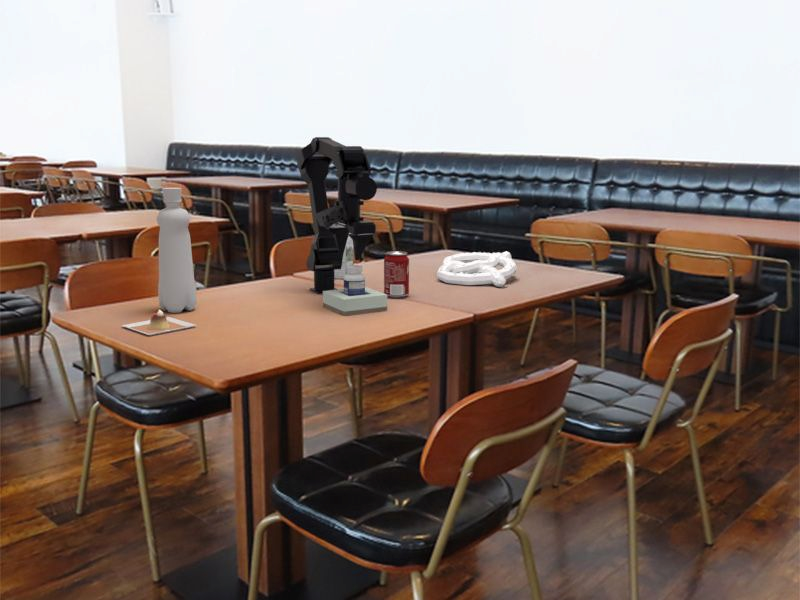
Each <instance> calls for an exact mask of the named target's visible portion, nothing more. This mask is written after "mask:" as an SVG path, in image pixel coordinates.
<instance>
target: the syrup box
mask: <svg viewBox="0 0 800 600" xmlns="http://www.w3.org/2000/svg"><path fill="white" fill-rule="evenodd" d="M349 234H351V233H349ZM354 257H355V256H354V248H353V240H352V239H351V237H350V236H349V235H348V239H347V243H346V247H345V250H344V253H343V260H342V267H341V269H335V270H334V280H335V279H336V280H344V276H345V275H346V274H347V272H346V267H347V266H350V265H354Z"/></svg>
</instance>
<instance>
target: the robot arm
mask: <svg viewBox="0 0 800 600" xmlns="http://www.w3.org/2000/svg"><path fill="white" fill-rule="evenodd" d="M296 159H297V160H296V165H297V168H298V169H299V175H300V178H302V179H303V181H304V182H305V184H306V185H307V189H308V194H309V203H310V207H311V208H310V210H311V217H312V222H313V229H314V237H313V239H312V241H311V244H310V251H309V255H308V256H307V260H306V262H305V263H306V269H307V270H309V271H311V272H313V287H309V291H311V292H314V293H316V294H323V291H329V290H338V288H336V287H335V278H334V270H335V269H341V267H342V260H343V253H344V250H345V247H346V243H347V239H348V235H349V236H350V237H351V239H352V240H353V248H354V256H353V257H354V260H355V261H360V260H361V258H362V256H363V254H364V251H365V249H366V248H367V245H368V244H369V242H370V240H371V238H372V237H374V234H377V225H376V223H375V222H374V221H370V220H367V219H366V220H365V219H364V216H361V207H362V206H364V205H365V204H364V203H365V201H370V200H372V199H373V198H374V197H375V196H376V194H377V191H378V186H377V183H376V181H375V180H374V179H373V178H372V177H370V176H371V174H372V172H371V168H372V167H371V165H370V162H369V159H368V157H367V154H366V151H365V150H364V148H363V147H362V146H360V145H344V144H342V143H340V142H337V141H335V140H333V139H332V138H331V137H328V136H322V137H321V136H316V137H313V138H312V140H310V143H308V144H307V145H306V146H303V148H301V150H300V152H299V154H298V156H297V158H296ZM331 164H333V166H334V167H335V168H336V170H337V172H336V174H335V177H336V178H337V199H335V200H334V202H333V206H331V207H329V202H328V197H327V196H328V194H327V187H326V180H327V177H328V175H329V173H330V166H331ZM349 233H351V234H349Z"/></svg>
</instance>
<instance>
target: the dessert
mask: <svg viewBox="0 0 800 600" xmlns="http://www.w3.org/2000/svg"><path fill="white" fill-rule="evenodd" d="M169 322H170V323H173V324H177V325H180V326H183V327H178V328H172V329H169V328H170V324H169ZM144 325H149V326H148V330H151V331H152V330H153V331H157V332H152V333H151V332H150V333H147V332H146V331H145V332H144V331H141V330H138V329H136V328H134V327H139V326H144ZM121 326H122V327H123V328H125V329H128V330H131V331H134V332H137V333H140V334H143V335H146V336H149V337H151V336H155V335H156V336H157V335H160V334H162V335H163V334H166V333H171V332H177V331H181V330H187V329H191V328H194V327H196V326H197V324H195V323H191V322H187V321H184V320H181V319H178V318H174V317H171V316H166V315H165V314H164V312H163V310H162V309H158V311H157V312H153V313H152V315H151V318H150V319H148V320H144V321H143V320H142V321H138V322H133V323H127V324H122V325H121ZM161 330H163V331H161Z"/></svg>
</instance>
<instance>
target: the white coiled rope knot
mask: <svg viewBox="0 0 800 600" xmlns="http://www.w3.org/2000/svg"><path fill="white" fill-rule="evenodd" d="M497 266H498V267H502V268H501V269H498V268H497ZM517 270H518V266H517V264H516V263H515V261H514V260H513V259H512V254H511V252H509V251H507V250H506V251H503V252H499V251H498V252H494V251H493V252H492V253H490V252H485V251H483V252H481V251H478V252H476V251H473V252H469V251H468V252H467V251H466V252H464V253H463V252H459V253H454V254H453V255H449V256H446V257H445V258H444V259H443V261H442V265H441V266H439V268H438V270H437V272H436V277H437V279H438V280H440V281H442V282H444V283H446V284H449V285H451V284H452V285H458V286H459V285H461V286H477V285H478V286H479V285H480V286H481V285H482V286H483V285H491V284H493V285H494V286H495V287H498V288H503V287H504V286H505V285H506V282H507V280H509V279H510V278H511V277H512V276H513V275H515V274H516V273H517Z"/></svg>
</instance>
